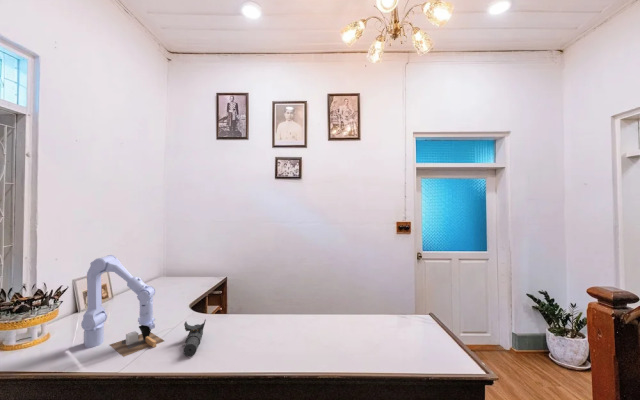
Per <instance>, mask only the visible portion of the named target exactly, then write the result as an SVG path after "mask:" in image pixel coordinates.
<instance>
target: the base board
mask: <svg viewBox="0 0 640 400" xmlns="http://www.w3.org/2000/svg"><path fill="white" fill-rule="evenodd" d="M149 337H150V338H152V339H153V340H155V341H156V345H158V344H161V343H163V342H165V340H164V339H162V338H161V337H159V336H157V334H154V333H153V332H151V331H150V335H149ZM109 347H111V348H112V349H114V350H115V351H116V352H117V353H118V354H119V355H121V356H122V357H123V358H125V357H127V356H130V355H132V354H134V353H137V352H139V351H142V350H146V349H148V348H150V347H152V346H151V345H149V344H148V343H146V342H145V339H143V336H142V333H140V334H138V342H135V343H132V344H129V345H128V346H127V345H126V338H125V339H122V340H119V341H116V342H113V343H111V344H109Z"/></svg>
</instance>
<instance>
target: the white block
mask: <svg viewBox="0 0 640 400" xmlns="http://www.w3.org/2000/svg"><path fill="white" fill-rule="evenodd" d="M138 335H139V332H137V331H135V330H134V331H131V332H128V333H125V339H126V345H127V346H128V345H129V344H132V343H135V342H138Z"/></svg>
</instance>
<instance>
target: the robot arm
mask: <svg viewBox="0 0 640 400" xmlns="http://www.w3.org/2000/svg"><path fill="white" fill-rule="evenodd" d="M105 272H107V273H112V272H113V273H115V274H116V275H118V277H120V278H121V279H123V280H124V281H125V282H126V286H127V287H128V288H129V289H130V290H131V291H132V292H133V293H134V294H136V298H137V300H138V301H139V317H137V322H138V325H139V326H138V329H139V330H140V332H141V334H142V336H143V339H145V337H147V336H149V335H150V332H151V331H152V330H153V329H155V328H156V324H155V322H154V321H156V318H155V317H154V296H155V294H156V289H155V288H154V286H151V285H148V284H146V282H144V281H143V280H142V278H141V277H139V276H133V274H131V273H130V271H129V270H128V269H126V267H125V266H124V265H123V264H122V263H121V261H120V259H119V258H117V256H115V255H114V254H109V255H106V256H101V257H98V258H95V259H94V260H93V261H91V262H90V266H89V269H88V271H86V286H87V288H86V291H87V293H86V295H87V297H86V298H87V302H86V303H87V309H86V311H85V312H84V314H83V316H82V317H83V318H82V320H81V323H80V324H81V325H80V326H81V328H82V330H84V331H83V344H84V347H85V348H88V349H89V348H96V347H98V346H101V345H102V344H104V341H105V339H104V338H105V334H104V333H105V331H104V330H105V328H104V326H105V322H106V321H107V319H108V313H107V312H106V308H105V307H104V306H102V303H103V300H102V298H103V297H102V275H103V274H104V273H105Z"/></svg>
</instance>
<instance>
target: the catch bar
mask: <svg viewBox="0 0 640 400" xmlns="http://www.w3.org/2000/svg"><path fill="white" fill-rule="evenodd" d="M145 342H146V343H148V344H149V345H151V347H152V348H157V344H156V341H155V340H153V339H152V338H150V337H149V336H147V337H145Z"/></svg>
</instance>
